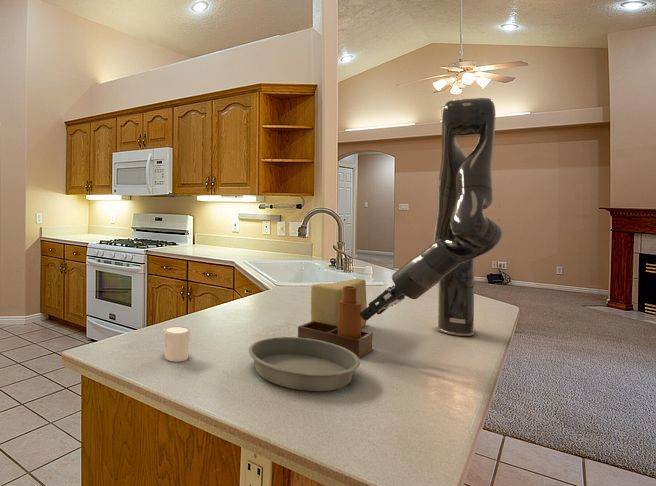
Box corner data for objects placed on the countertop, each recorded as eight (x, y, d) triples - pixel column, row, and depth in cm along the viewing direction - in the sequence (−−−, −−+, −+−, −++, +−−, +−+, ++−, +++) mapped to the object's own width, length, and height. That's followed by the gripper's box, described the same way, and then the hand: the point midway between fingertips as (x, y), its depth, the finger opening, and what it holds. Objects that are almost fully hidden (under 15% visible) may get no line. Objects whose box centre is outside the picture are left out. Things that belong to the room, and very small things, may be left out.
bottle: (343, 342, 123) (343, 284, 123) (364, 347, 119) (365, 287, 119) (333, 347, 119) (334, 287, 119) (355, 352, 115) (356, 290, 115)
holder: (313, 336, 131) (313, 320, 131) (372, 350, 119) (372, 333, 119) (297, 343, 125) (297, 326, 125) (358, 358, 113) (358, 340, 113)
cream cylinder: (194, 355, 114) (194, 327, 114) (183, 364, 108) (183, 335, 108) (170, 351, 117) (170, 324, 117) (158, 359, 111) (158, 331, 111)
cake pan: (299, 404, 87) (299, 381, 87) (228, 363, 109) (228, 344, 109) (384, 382, 98) (384, 361, 98) (304, 348, 120) (304, 331, 120)
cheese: (350, 321, 148) (350, 275, 148) (378, 328, 140) (379, 280, 140) (309, 332, 134) (309, 283, 134) (338, 341, 127) (339, 288, 127)
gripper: (415, 260, 114) (369, 298, 122) (396, 266, 104) (347, 306, 112) (439, 284, 111) (389, 321, 119) (421, 292, 101) (368, 332, 109)
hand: (369, 314), depth 116 cm, fingers open, 8 cm apart
